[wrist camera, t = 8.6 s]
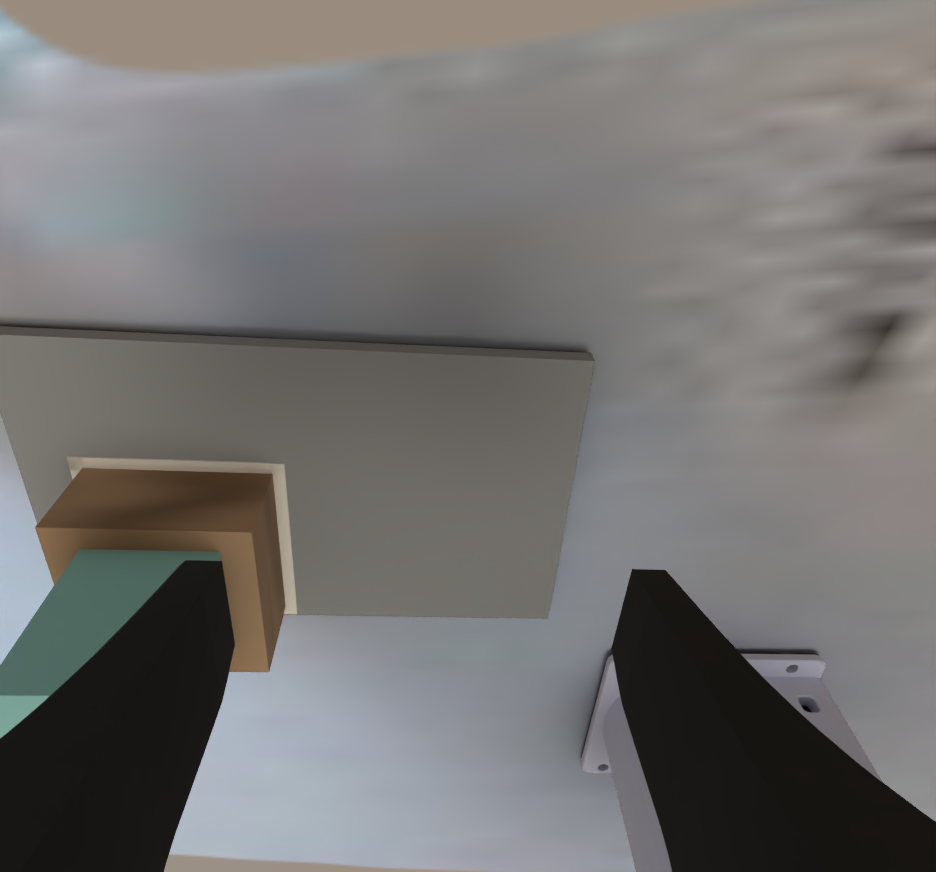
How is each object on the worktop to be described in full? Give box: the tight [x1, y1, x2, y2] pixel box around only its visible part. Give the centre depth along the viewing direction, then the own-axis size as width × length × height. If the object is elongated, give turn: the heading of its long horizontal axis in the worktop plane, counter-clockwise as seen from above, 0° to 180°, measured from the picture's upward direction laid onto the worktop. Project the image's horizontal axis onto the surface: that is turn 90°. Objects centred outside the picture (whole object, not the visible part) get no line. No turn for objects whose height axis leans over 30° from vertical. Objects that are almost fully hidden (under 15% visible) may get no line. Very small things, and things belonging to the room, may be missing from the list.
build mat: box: [0, 326, 595, 619], centre depth 23 cm, size 18×11×1 cm, turn 86°
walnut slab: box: [35, 468, 286, 672], centre depth 22 cm, size 6×6×3 cm
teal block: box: [0, 549, 236, 738], centre depth 19 cm, size 4×4×5 cm
